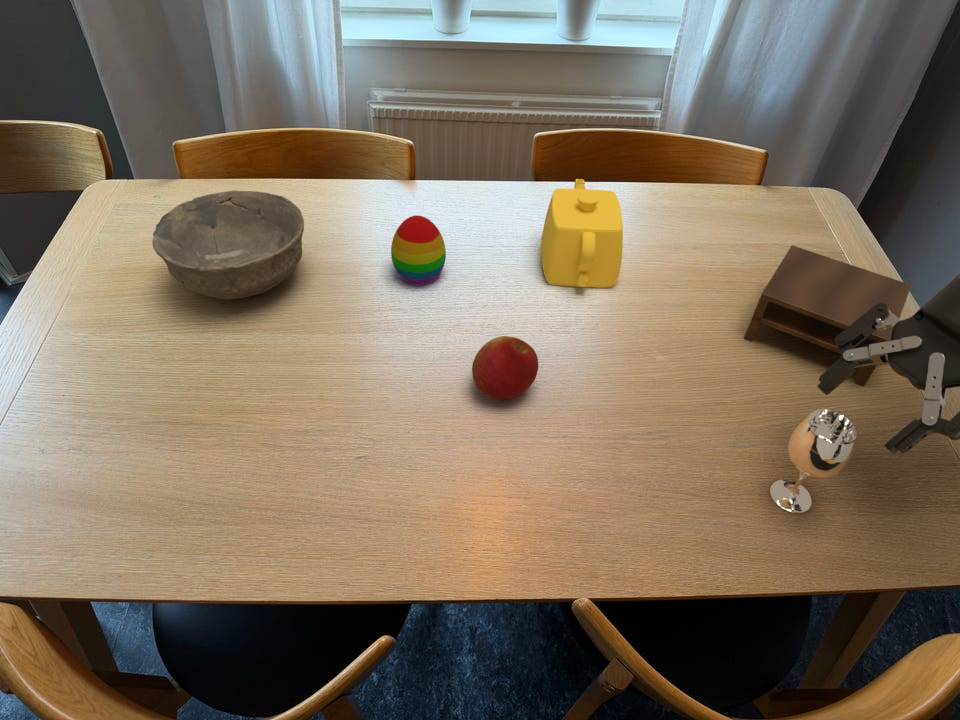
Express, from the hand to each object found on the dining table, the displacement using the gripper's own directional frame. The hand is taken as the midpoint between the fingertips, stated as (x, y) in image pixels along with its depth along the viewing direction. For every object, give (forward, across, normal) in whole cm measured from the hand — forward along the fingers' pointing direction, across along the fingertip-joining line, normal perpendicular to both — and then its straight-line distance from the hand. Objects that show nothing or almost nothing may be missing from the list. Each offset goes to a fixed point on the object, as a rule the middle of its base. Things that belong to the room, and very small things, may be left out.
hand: (853, 419), depth 66 cm
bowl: (+44, -64, -28) cm, 82 cm away
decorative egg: (+27, -55, -10) cm, 62 cm away
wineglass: (+10, 0, +6) cm, 12 cm away
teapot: (+9, -48, +7) cm, 50 cm away
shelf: (-6, -19, +22) cm, 30 cm away
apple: (+26, -28, -9) cm, 39 cm away
